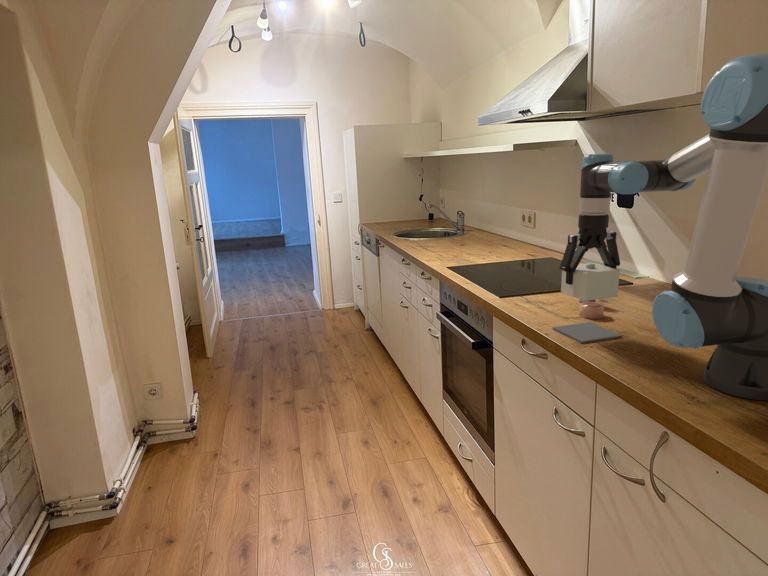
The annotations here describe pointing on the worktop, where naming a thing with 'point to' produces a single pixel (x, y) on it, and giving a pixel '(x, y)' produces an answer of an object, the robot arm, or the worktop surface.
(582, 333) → the mat
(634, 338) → the worktop surface
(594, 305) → the bowl
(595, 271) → the cover
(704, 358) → the worktop surface
